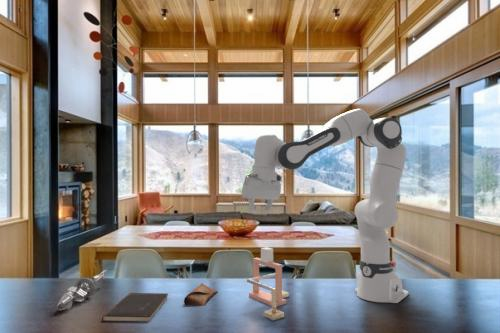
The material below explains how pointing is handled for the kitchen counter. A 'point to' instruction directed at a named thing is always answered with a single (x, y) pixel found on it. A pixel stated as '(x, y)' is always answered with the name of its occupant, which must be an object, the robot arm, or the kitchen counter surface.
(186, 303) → the sunglasses case
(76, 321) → the kitchen counter surface
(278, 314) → the bent towel rail
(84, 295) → the spaceship
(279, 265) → the pink frame with handle
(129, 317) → the hardcover book
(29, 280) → the kitchen counter surface
